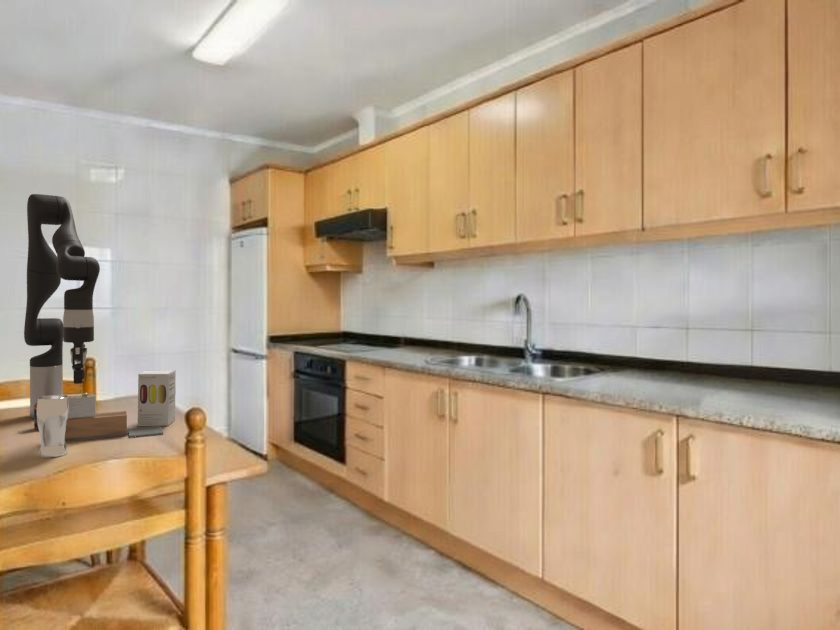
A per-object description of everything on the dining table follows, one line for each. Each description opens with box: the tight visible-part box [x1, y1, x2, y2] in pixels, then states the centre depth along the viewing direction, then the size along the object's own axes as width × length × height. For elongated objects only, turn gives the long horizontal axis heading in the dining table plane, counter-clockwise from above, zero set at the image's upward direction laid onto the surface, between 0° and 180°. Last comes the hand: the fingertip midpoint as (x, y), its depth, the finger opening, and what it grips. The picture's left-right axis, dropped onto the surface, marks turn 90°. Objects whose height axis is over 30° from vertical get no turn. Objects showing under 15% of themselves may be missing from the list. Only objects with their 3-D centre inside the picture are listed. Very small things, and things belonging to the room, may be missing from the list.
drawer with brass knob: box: [68, 392, 97, 419], centre depth 156 cm, size 4×8×7 cm, turn 120°
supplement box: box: [137, 369, 176, 427], centre depth 176 cm, size 10×9×17 cm
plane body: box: [65, 410, 129, 443], centre depth 158 cm, size 7×18×6 cm, turn 120°
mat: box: [127, 425, 164, 438], centre depth 163 cm, size 10×9×1 cm
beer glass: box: [37, 394, 69, 459], centre depth 139 cm, size 7×7×15 cm
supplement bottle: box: [33, 397, 39, 430], centre depth 167 cm, size 5×5×10 cm
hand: (79, 381), depth 156 cm, fingers open, 8 cm apart
